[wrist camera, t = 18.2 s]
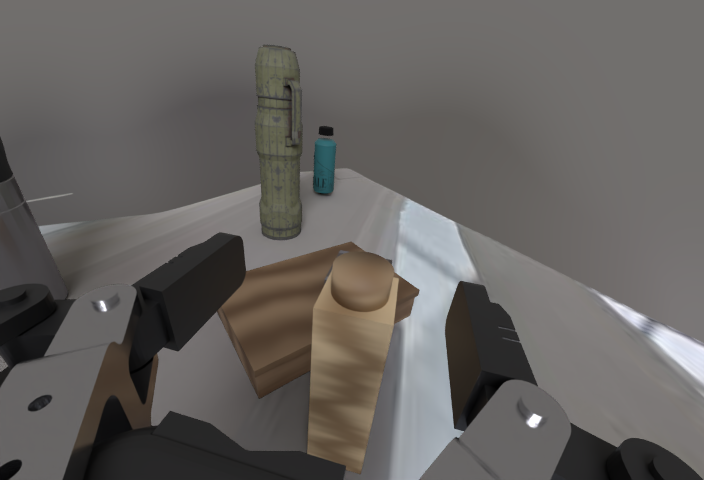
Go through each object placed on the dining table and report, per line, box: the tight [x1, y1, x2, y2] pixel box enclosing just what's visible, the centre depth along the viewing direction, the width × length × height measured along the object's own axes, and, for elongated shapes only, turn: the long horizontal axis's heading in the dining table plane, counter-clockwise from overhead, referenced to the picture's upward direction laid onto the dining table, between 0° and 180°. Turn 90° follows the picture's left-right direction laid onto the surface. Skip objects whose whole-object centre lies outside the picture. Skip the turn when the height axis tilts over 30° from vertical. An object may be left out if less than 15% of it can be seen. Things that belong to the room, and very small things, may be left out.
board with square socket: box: [217, 242, 419, 399], centre depth 41 cm, size 17×25×8 cm
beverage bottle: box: [313, 126, 336, 193], centre depth 84 cm, size 6×7×20 cm
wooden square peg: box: [307, 251, 399, 474], centre depth 23 cm, size 5×5×20 cm
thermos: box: [255, 45, 302, 240], centre depth 57 cm, size 9×12×35 cm
